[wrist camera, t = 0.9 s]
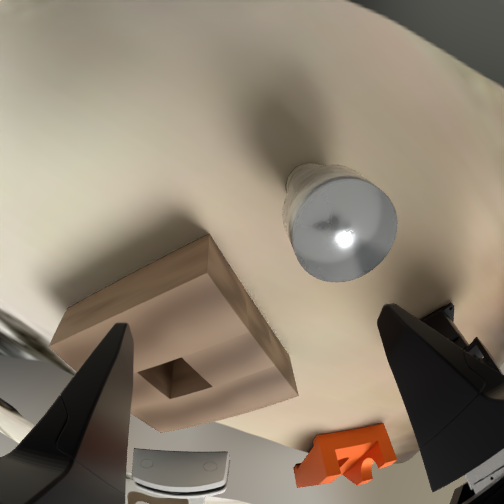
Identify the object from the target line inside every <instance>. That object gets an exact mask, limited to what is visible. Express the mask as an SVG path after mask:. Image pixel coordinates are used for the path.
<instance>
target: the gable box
mask: <svg viewBox="0 0 504 504" xmlns="http://www.w3.org/2000/svg"><path fill="white" fill-rule="evenodd" d="M137 501H144V502H147V503H149V504H205V497H203V498H193V499H179V498H169V497H163V496H159V495H155V494H152V493H149V492H146V491H144V490H141V489H139V488H138V487H137V485H136V484H135V482H134V480H133V479H127V478H126V488H125V504H135V503H136V502H137Z"/></svg>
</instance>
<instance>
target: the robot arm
mask: <svg viewBox="0 0 504 504" xmlns="http://www.w3.org/2000/svg"><path fill="white" fill-rule="evenodd" d="M453 320H454V305H453V304H452V303H449V304H448V305H446V306H444V307H443V308H441V309H439V310H437V311H436V312H434V313H432V314H430V315H429V316H427V317H425V318H423V319H421V320H419V319H417V318H416V317H414V316H413V315H411V314H410V313H408V312H407V311H405V310H404V309H402V308H401V307H399V306H398V305H396V304H394V303H392V304H386V305H384V306H383V308H382V311H381V313H380V315H379V318H378V321H377V326H378V329H379V333H380V336H381V339H382V343H383V346H384V350H385V353H386V356H387V360H388V362H389V365H390V367H391V370H392V373H393V375H394V378H395V380H396V383H397V386H398V388H399V391H400V394H401V396H402V399H403V402H404V405H405V407H406V410H407V413H408V416H409V419H410V422H411V425H412V427H413V430H414V433H415V436H416V439H417V443H418V446H419V448H420V452H421V456H422V459H423V462H424V465H425V469H426V472H427V476H428V479H429V483H430V486H431V490H432V492H434V491H437V490H438V489H440V488H442V487H444V486H446V485H448V484H450V483H451V482H453V481H455V480H457V479H458V478H460V477H462V476H463V475H465V477H466V480H467V482H466V483H464V484H463V485H461V486H460V487H458V488H456V489H455V491H454V493H453V496H452V499H451V502H450V504H504V375H503V373H502V372H501V370H500V368H499V367H498V365H497V363H496V362H495V360H494V359H493V357H492V356H491V354H490V353H489V351H488V350H487V349H486V347H485V346H484V345H483V344H482V343H481V341H480V340H479V339H478V338H477V337H476V338H475V339H474V340H473V342H472V343H471V344H470V345H469V344H468V343H467V341H466V340H465V338H464V337H463V335H462V334H461V333H460V331H459V330H458V328H457V327H456V326H455V324H454V323H453ZM483 356H484V358H483V359H482V357H483ZM133 363H134V341H133V337H132V333H131V330H130V327H129V324H128V323H126V322H117V323H115V324H114V325H113V327H112V328H111V329H110V330H109V332H108V333H107V334H106V335H105V337H104V338H103V339H102V340H101V342H100V343H99V344H98V345H97V347H96V348H95V349H94V350H93V352H92V353H91V354H90V356H89V357H88V358H87V359H86V361H85V362H84V363H83V365H82V366H81V367H80V369H79V370H78V371H77V372H76V374H75V375H74V376H73V378H72V379H71V380H70V382H69V383H68V385H67V386H66V387H65V388H64V390H63V391H62V393H61V395H59V396H58V398H57V399H56V401H55V402H54V403H53V405H52V406H51V407H50V409H49V410H48V411H47V413H46V414H45V415H44V416H43V417H42V418H41V420H40V421H39V422H38V423H37V424H36V426H35V427H34V428H33V429H32V430H31V431H30V432H29V433H28V434H27V436H26V437H25V438H24V439H23V440H22V441H21V442H20V444H19V445H18V446H17V447H16V448H15V449H14V450H13V451H12V452H10V453H9V454H7V455H5V456H3V457H0V504H125V488H126V463H127V446H128V433H129V421H130V411H131V402H132V393H133Z"/></svg>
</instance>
